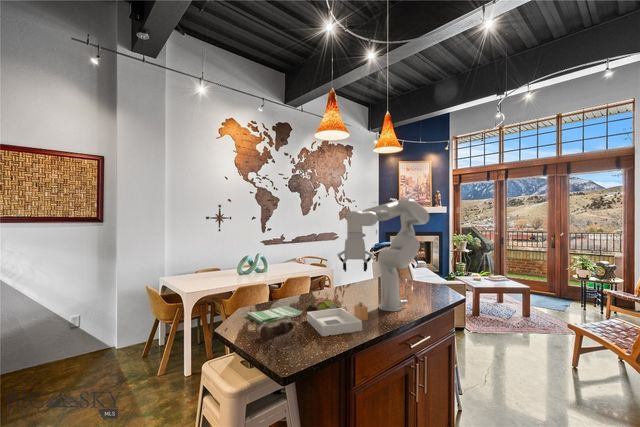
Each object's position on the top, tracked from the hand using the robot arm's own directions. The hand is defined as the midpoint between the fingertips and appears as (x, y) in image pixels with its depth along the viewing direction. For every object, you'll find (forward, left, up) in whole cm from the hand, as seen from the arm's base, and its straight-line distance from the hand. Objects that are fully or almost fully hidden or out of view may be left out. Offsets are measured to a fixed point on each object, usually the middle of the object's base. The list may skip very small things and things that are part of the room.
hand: (355, 271), depth 146 cm
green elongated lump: (+10, -17, -23) cm, 30 cm away
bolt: (+40, +8, -23) cm, 47 cm away
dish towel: (+37, -19, -23) cm, 47 cm away
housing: (+15, +6, -22) cm, 28 cm away
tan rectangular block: (-1, +2, -22) cm, 23 cm away
